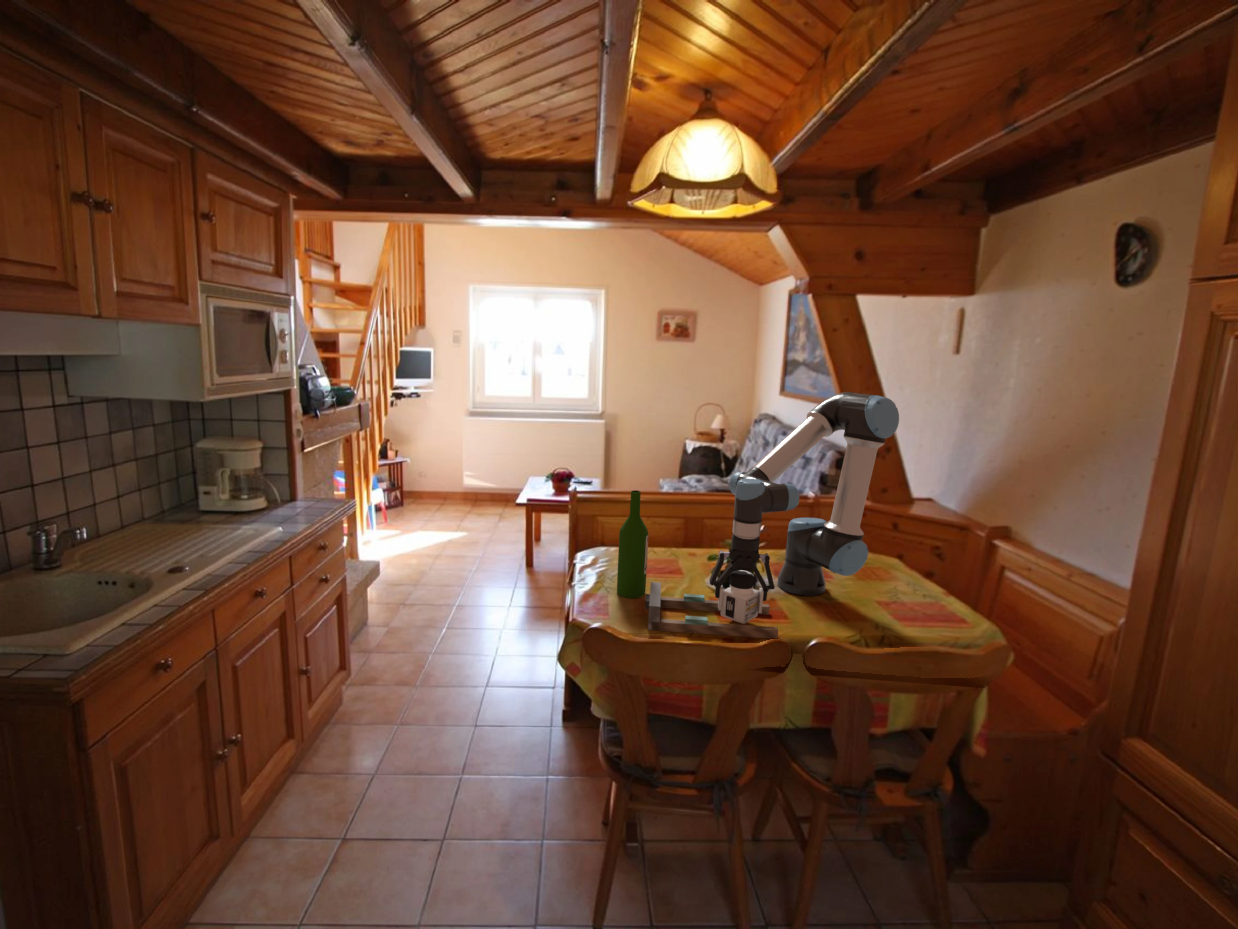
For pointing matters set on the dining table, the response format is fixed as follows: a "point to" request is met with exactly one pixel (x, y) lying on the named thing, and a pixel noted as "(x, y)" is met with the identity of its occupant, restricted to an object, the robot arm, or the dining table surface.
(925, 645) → the dining table surface
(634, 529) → the wine bottle
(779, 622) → the dining table surface
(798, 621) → the dining table surface
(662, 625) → the wooden frame
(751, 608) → the container
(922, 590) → the dining table surface
